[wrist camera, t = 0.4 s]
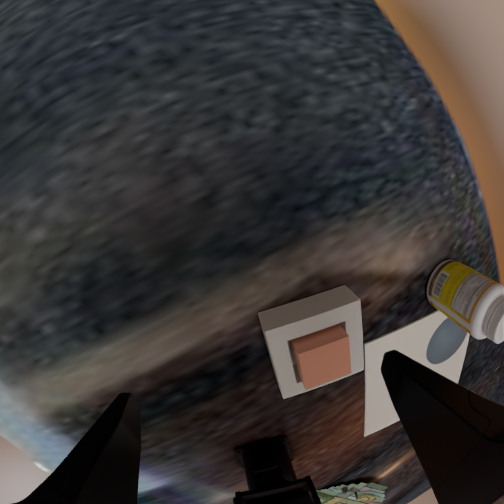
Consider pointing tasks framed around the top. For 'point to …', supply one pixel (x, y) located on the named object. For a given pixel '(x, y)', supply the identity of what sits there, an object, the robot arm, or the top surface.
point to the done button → (322, 356)
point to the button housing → (308, 321)
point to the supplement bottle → (468, 299)
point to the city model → (353, 494)
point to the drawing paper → (419, 349)
